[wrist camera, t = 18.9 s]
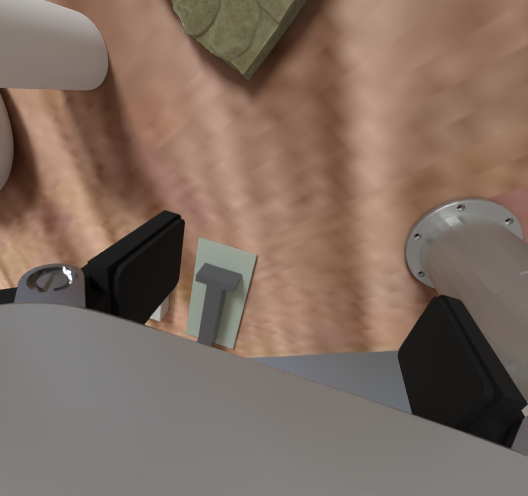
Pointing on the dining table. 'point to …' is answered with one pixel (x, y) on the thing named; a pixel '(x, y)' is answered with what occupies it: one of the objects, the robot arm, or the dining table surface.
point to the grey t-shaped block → (214, 299)
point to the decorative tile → (238, 28)
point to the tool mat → (233, 301)
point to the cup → (49, 47)
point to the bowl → (5, 144)
